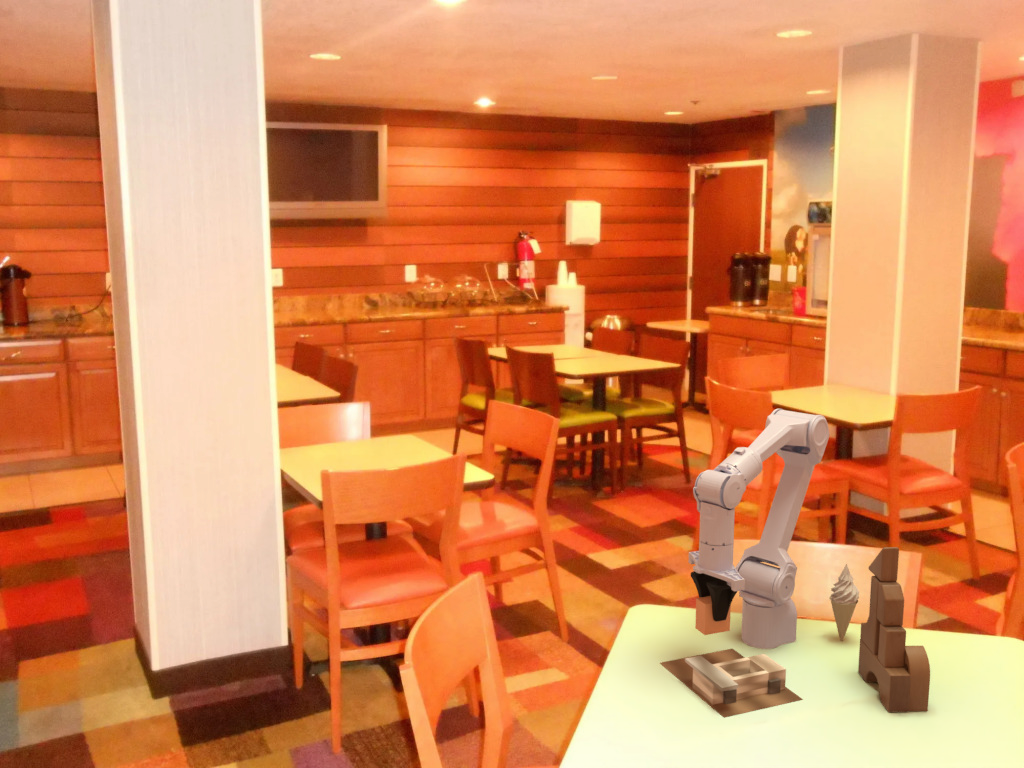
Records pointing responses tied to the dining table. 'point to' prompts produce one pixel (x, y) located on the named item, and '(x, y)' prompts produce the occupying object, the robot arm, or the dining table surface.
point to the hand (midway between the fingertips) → (714, 615)
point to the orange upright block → (709, 618)
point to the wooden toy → (892, 642)
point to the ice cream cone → (844, 601)
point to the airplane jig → (733, 681)
